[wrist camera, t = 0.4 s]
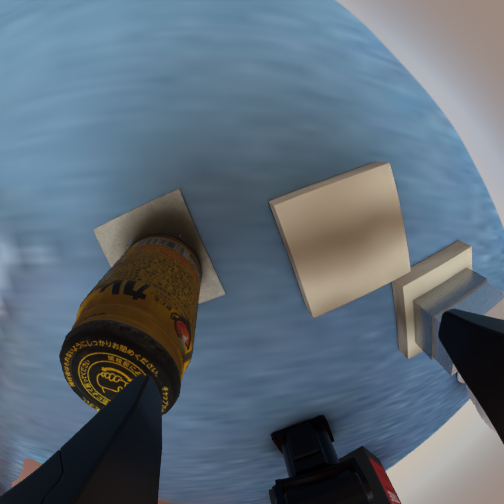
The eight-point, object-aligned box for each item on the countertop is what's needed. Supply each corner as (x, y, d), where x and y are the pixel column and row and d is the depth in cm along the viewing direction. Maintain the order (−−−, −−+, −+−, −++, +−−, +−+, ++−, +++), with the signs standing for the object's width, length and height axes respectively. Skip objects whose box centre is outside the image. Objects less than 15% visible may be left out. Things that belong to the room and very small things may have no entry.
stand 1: (398, 263, 23) (410, 271, 21) (306, 306, 23) (313, 318, 21) (375, 161, 20) (389, 162, 18) (268, 201, 20) (273, 205, 18)
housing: (465, 309, 23) (501, 336, 18) (415, 342, 24) (449, 378, 18) (466, 267, 22) (509, 291, 16) (412, 300, 22) (454, 335, 16)
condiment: (143, 322, 22) (103, 441, 10) (93, 229, 19) (-7, 300, 8) (225, 292, 22) (237, 416, 10) (179, 188, 19) (127, 226, 8)
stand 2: (459, 310, 26) (469, 318, 24) (398, 348, 26) (408, 359, 24) (458, 240, 23) (471, 246, 21) (390, 277, 23) (402, 286, 21)
